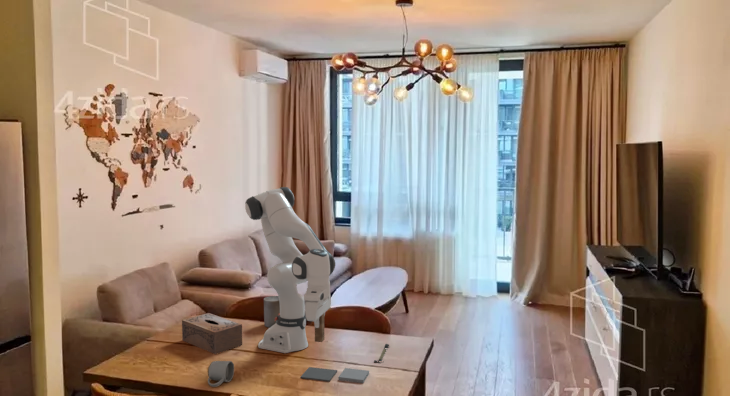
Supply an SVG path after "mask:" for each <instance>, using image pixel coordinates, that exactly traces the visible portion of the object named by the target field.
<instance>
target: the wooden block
mask: <svg viewBox="0 0 730 396" xmlns="http://www.w3.org/2000/svg"><path fill="white" fill-rule="evenodd" d="M319 322H320V327H319V328H315V327H314V342H315V343H316V342H317V343H323V342H324V341H325V316H324V314H323V315H321V316H320V317H319Z"/></svg>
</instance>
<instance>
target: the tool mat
mask: <svg viewBox="0 0 730 396" xmlns="http://www.w3.org/2000/svg"><path fill="white" fill-rule="evenodd" d="M337 373H338V370H337V369H330V368H320V367H311V366H308V367H307V369H306V370H305V371H304V372H303V373H302V374H301V376H300V379H303V380H304V379H305V380H312V381H319V382H320V381H322V382H328V383H329V382H331V380H332V379H333V378H334V377H335V375H336V374H337Z"/></svg>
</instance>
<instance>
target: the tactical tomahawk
mask: <svg viewBox="0 0 730 396" xmlns="http://www.w3.org/2000/svg"><path fill="white" fill-rule="evenodd" d="M389 347H390V344H389V343H385V345H384V348H383V349H382V351H381V354H380V356H379V358H378V359H377V360H374V361H373V364H374V363H375V364H376V363H377V364H381V363H382V362H377V361H382V360H383V359H384V356H385V355H384V354H386V353H385V352H387V351H386V349H385V348H388V349H389Z"/></svg>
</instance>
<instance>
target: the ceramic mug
mask: <svg viewBox="0 0 730 396" xmlns="http://www.w3.org/2000/svg"><path fill="white" fill-rule="evenodd" d="M234 374H235V364H234V363H233V361H231V360H215V361H212V362H210V363H209V365H208V368H207V377H208V379H207V385H208V386H209V387H211V388H216V387H220V385H222V384H223V383H224V382H225V383H230V382H231V381H232V379H233V377H234ZM211 380H212V381H215V383H211Z"/></svg>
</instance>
